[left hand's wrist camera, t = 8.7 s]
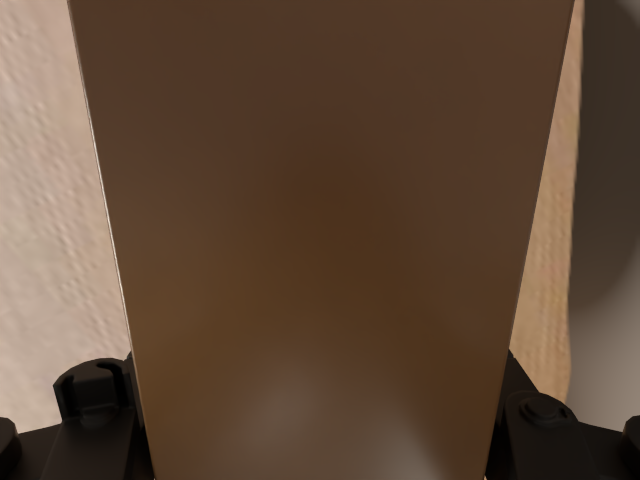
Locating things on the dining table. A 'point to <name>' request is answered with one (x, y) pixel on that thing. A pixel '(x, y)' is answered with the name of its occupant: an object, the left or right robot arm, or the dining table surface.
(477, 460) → the bar
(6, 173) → the dining table surface
